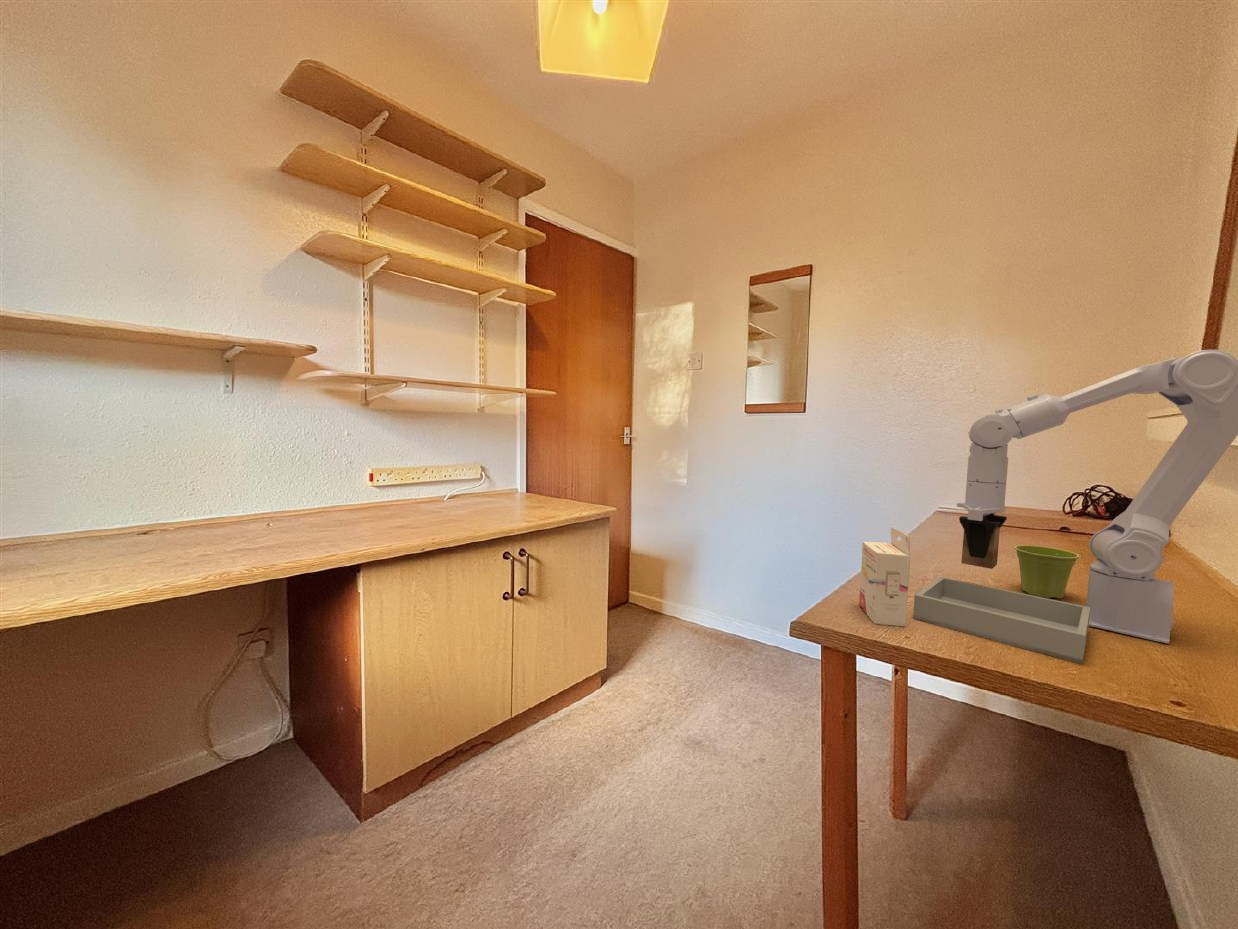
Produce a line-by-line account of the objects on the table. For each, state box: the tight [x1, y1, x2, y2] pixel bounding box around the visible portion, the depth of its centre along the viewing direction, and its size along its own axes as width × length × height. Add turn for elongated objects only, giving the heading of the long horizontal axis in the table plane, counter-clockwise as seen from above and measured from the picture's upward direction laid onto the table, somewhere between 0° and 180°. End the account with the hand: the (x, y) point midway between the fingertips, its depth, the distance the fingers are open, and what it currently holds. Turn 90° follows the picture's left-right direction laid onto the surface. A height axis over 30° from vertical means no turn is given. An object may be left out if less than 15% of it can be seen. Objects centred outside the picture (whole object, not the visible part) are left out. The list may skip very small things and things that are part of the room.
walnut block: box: [961, 527, 1001, 570], centre depth 86 cm, size 4×4×7 cm
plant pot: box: [1013, 544, 1081, 600], centre depth 91 cm, size 9×9×9 cm
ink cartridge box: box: [858, 526, 911, 627], centre depth 78 cm, size 9×5×15 cm, turn 168°
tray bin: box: [912, 576, 1090, 665], centre depth 75 cm, size 20×16×4 cm
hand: (980, 555), depth 86 cm, fingers closed on walnut block, 4 cm apart
